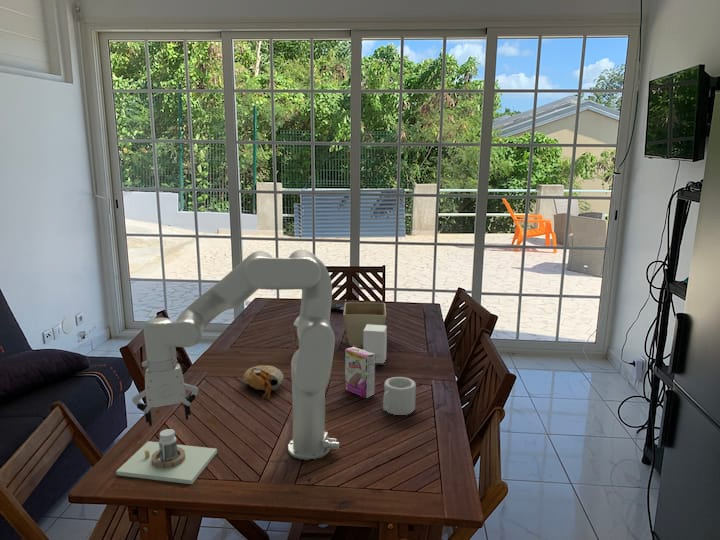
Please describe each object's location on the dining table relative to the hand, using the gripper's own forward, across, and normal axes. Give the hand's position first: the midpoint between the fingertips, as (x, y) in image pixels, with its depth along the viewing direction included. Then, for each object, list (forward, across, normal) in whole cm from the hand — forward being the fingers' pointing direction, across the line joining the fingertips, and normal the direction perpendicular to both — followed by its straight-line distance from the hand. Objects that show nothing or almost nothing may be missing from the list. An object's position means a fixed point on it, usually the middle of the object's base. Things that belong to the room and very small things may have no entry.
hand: (168, 420), depth 153 cm
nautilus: (+14, +33, +40) cm, 54 cm away
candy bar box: (+16, +66, +26) cm, 72 cm away
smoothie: (+15, +56, +72) cm, 93 cm away
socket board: (+13, -1, 0) cm, 13 cm away
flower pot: (+16, +86, +76) cm, 116 cm away
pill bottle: (+12, -1, 0) cm, 12 cm away
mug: (+16, +73, +9) cm, 75 cm away
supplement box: (+16, +82, +53) cm, 100 cm away
